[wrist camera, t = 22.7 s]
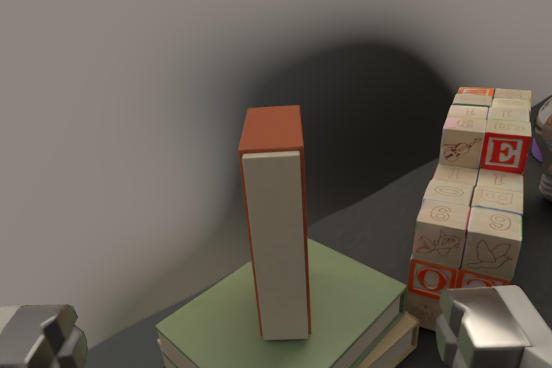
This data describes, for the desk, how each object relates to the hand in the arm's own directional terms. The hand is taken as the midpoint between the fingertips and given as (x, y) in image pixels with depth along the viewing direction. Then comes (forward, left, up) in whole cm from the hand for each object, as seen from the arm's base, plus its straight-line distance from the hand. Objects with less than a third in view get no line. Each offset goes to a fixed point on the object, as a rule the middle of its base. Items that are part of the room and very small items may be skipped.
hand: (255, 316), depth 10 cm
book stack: (0, -14, -18) cm, 23 cm away
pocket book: (0, -14, -13) cm, 19 cm away
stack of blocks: (-16, -24, -18) cm, 34 cm away
